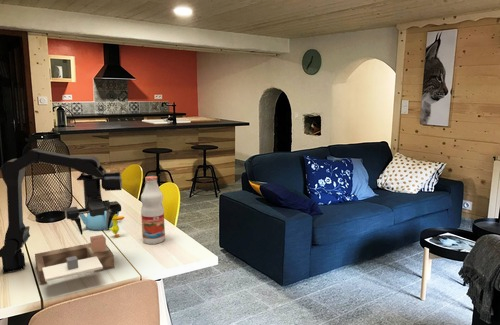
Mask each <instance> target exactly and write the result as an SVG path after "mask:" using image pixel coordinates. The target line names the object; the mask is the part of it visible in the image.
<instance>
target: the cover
mask: <svg viewBox="0 0 500 325" xmlns="http://www.w3.org/2000/svg"><path fill="white" fill-rule="evenodd" d="M66 261H67V263H63V264H58V265H53V266H48V267H44V268H42V270H43V274H44V278H45V281H46V282H47V283H48V282H51V281H55V280H59V279H60V280H61V279H64V278H68V277H73V276H76V275H82V274H85V273H90V272H94V271H95V270H99V269H103V266H102V264H101V263H100V261H99V259H98V258H97V256H95V257H91V258H86V259H81V260H78V259H77V257H76V256H73V257H69V258H66Z"/></svg>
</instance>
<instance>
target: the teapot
mask: <svg viewBox="0 0 500 325" xmlns="http://www.w3.org/2000/svg"><path fill="white" fill-rule="evenodd" d="M86 214H87V215H85V214H79V217H80V220H81V222H82V223H83V224H84V225H85V226H86V228H88V229H89V230H92V231H102V230H103V231H104V229H105V230H107V226H106V211H105V214H104V215H98V216H95V217H92V216H90V213H86ZM119 214H120V212H118V214H117V217H119ZM112 227H113V221H111V224H110V227H109V228H112Z"/></svg>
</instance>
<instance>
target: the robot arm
mask: <svg viewBox="0 0 500 325" xmlns="http://www.w3.org/2000/svg"><path fill="white" fill-rule="evenodd" d="M35 162H39V163H43V164H44V163H45V164H48V165H49V164H50V165H53V166H55V165H56V166H61V167H66V168H70V169H74V170H75V171H77V172H79V173H80V175H79V176H78V177H77V178H76V180H77V181H82V182H83V183H82V184H83V186H82V187H83V197H84V199H83V200H84V208H78V207H77V206H71V207H66V208H65V209H64V216H65V217H66V219H67V220H70V221H73V222H75V224H76V226H77V229H78V230H79V232H80V235H83V228H82V227H83V226H82V224H81V222H82V220H81V217H80V215H79V214H84V215H85V214H88V213H90V216H92V217H95V216H98V215H104V214H105V211H106V226H107V229H106V231H109V230H110V229H109V227H110V224H111V221H112V218H113V216H114V215H115V214H118V212H119V213H120V212H122V205H121V203H120V202H118V201H117V200H115V201H110V200H109V199H106V200H103V198H102V192H101V191H102V190H101V189H103V190H104V191H105V192H107V191H109V192H111V191H122V189H123V179H122V175H121V171H115V172H114V171H113V172H107V170H106V169H105V168H104V167H103V166H102V165H101V161H100V159H99V157H98V156H97V157H96V156H95V155H78V156H77V155H70V154H64V153H58V152H54V151H48V150H44V149H40V148H32V149H31V150H29V151H28V152H27V153H25V154H24V155H22V156H20V157H18V158H13V159H10V160H7V161H5V162H3V164H2V165H1V167H0V174H1V177H2V181H3V182H4V184H5V186H6V196H7V199H6V201H7V202H6V203H7V219H8V220H7V221H8V225H7V229H6V232H5V235H4V241H3V242H4V243H3V246H2V247H1V248H0V258H1V262H2V273H3V274H7V273H12V272H17V271H21V270H25V266H26V262H25V261H26V260H25V259H26V258H25V253H24V252H23V250H22V248H23V247H24V245H26V243H27V241H28V240H29V238H30V236H31V234H30V225H28V226H26V225H25V224H24V217H23V216H24V213H23V212H24V211H23V210H24V209H23V192H22V191H23V189H22V188H23V186H22V185H23V182H24V178H25V174H26V169H27V167H28V166H30V165H32V164H34V163H35Z"/></svg>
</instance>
